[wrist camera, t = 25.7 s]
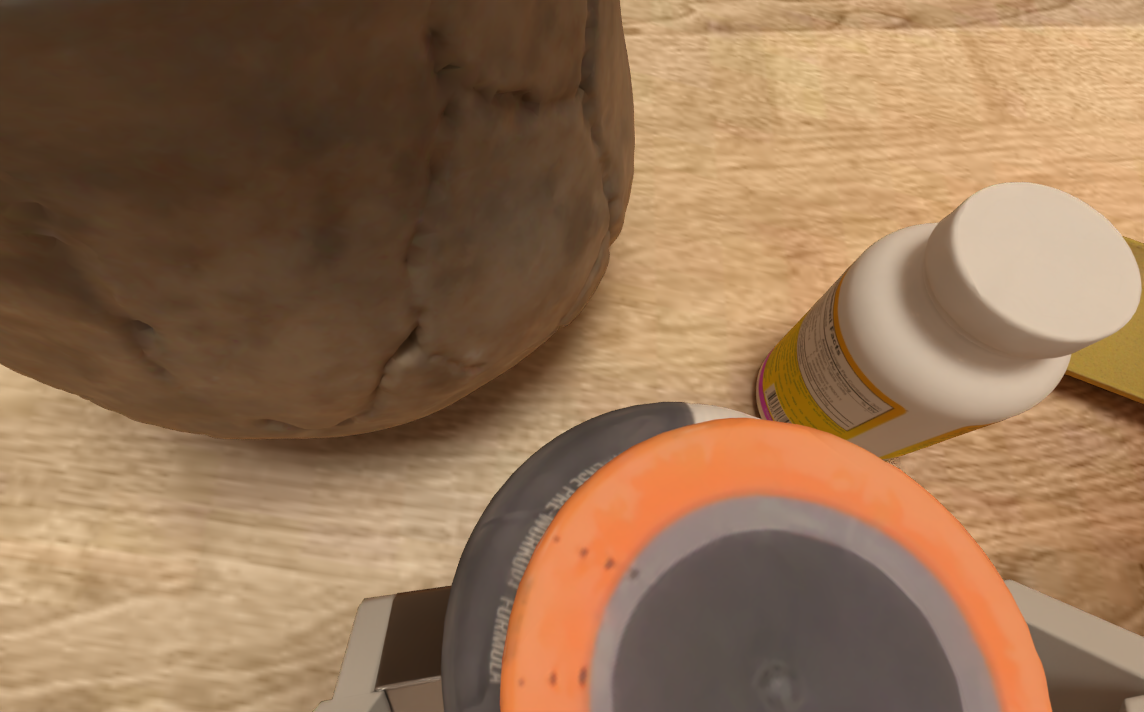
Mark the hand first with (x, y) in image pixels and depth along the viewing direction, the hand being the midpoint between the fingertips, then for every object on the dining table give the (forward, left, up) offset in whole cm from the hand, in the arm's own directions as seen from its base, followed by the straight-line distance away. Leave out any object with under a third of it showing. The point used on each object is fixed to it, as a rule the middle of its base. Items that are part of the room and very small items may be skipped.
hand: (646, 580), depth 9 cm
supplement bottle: (-11, -7, -15) cm, 20 cm away
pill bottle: (0, +1, -6) cm, 6 cm away
